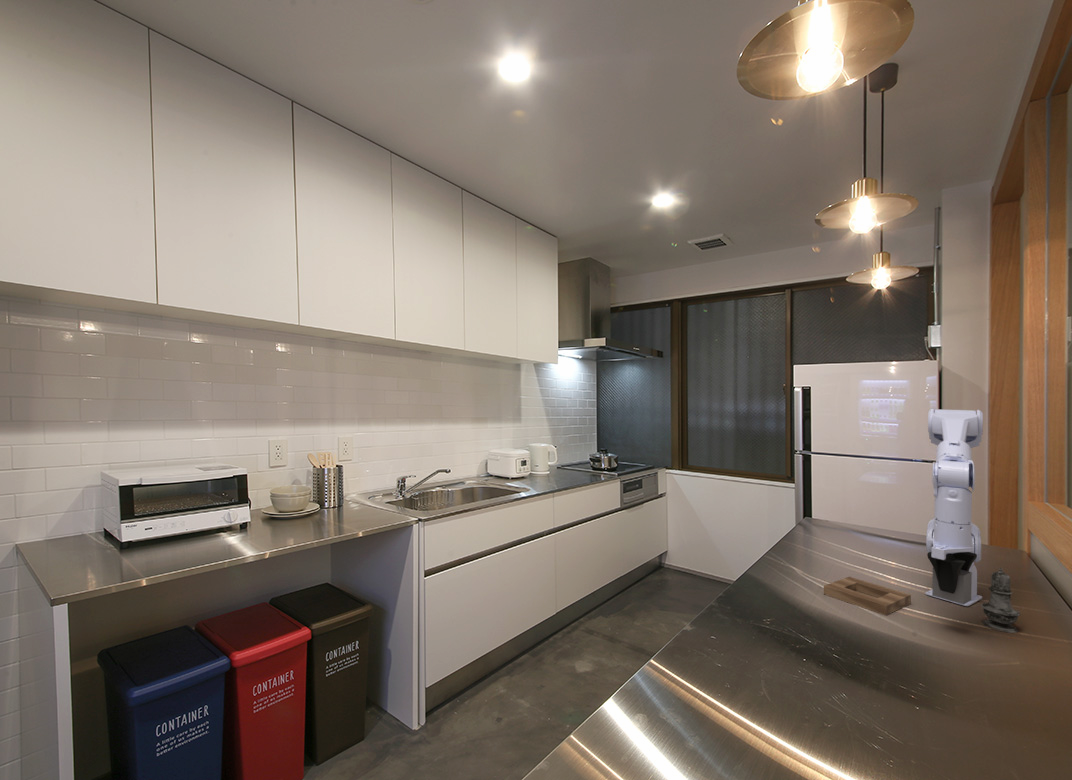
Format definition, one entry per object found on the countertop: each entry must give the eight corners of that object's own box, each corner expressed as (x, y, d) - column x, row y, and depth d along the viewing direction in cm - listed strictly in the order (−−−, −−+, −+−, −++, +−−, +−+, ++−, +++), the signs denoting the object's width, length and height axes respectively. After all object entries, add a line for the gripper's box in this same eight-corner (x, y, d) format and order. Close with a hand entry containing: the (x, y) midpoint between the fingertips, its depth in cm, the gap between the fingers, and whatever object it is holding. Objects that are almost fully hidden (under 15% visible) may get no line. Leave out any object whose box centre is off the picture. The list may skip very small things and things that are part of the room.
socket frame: (849, 584, 124) (849, 576, 124) (910, 603, 113) (910, 594, 113) (823, 594, 117) (823, 585, 117) (886, 615, 106) (886, 606, 106)
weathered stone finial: (1028, 635, 99) (1028, 574, 99) (993, 631, 100) (994, 571, 100) (1006, 621, 104) (1007, 564, 105) (974, 618, 106) (974, 562, 106)
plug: (940, 591, 103) (940, 564, 103) (971, 600, 98) (971, 572, 98) (932, 595, 100) (932, 567, 100) (963, 604, 96) (964, 575, 96)
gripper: (942, 512, 107) (941, 576, 107) (913, 521, 99) (912, 589, 99) (985, 520, 101) (984, 587, 101) (957, 529, 93) (956, 602, 93)
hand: (951, 589), depth 99 cm, fingers closed on plug, 4 cm apart
